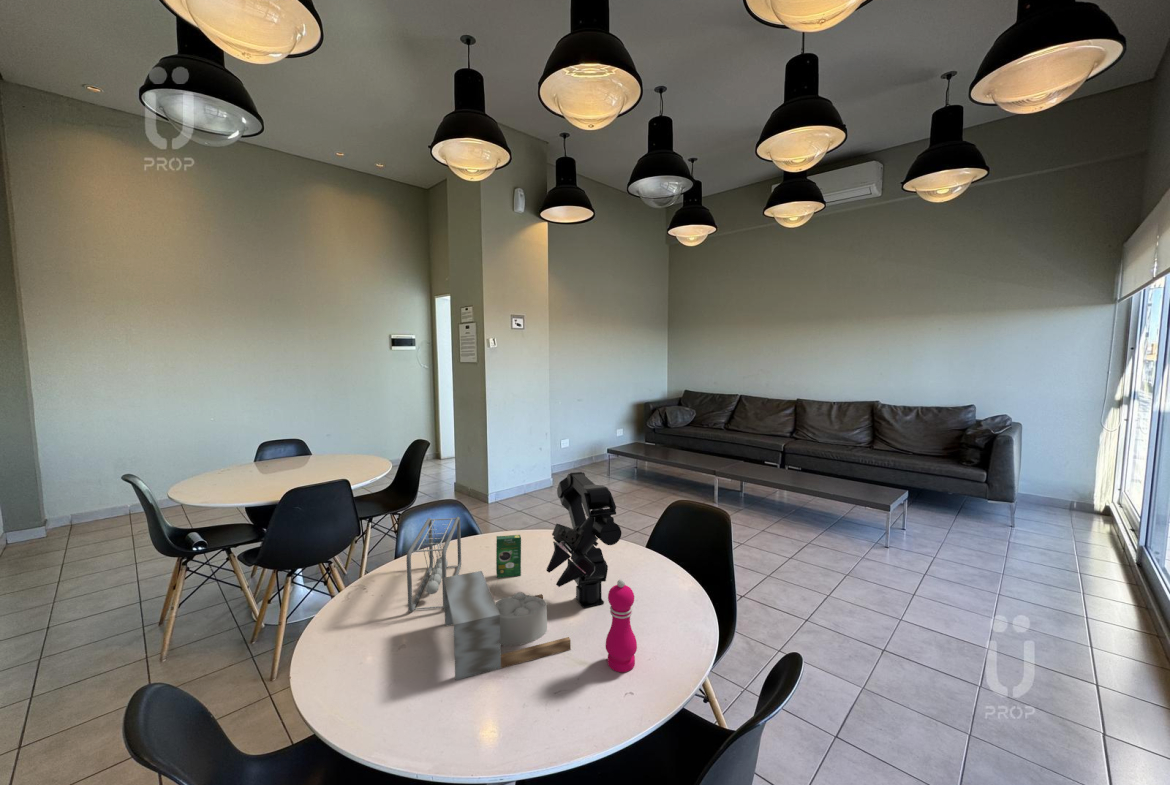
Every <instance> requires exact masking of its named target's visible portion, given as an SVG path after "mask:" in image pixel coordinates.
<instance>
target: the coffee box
mask: <svg viewBox="0 0 1170 785" xmlns="http://www.w3.org/2000/svg"><path fill="white" fill-rule="evenodd" d="M495 546H496V547H495V548H496V549H495V552H496V553H495V554H496V555H495V556H496V559H495V561H496V563H495V564H496V565H495V570H496V572H495V573H496V578H497V579H499V578H510V577H518V576H519V577H521V576H522V566H521V565H522V537H521V534H512V535H496V545H495Z"/></svg>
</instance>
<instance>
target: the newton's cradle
mask: <svg viewBox="0 0 1170 785" xmlns="http://www.w3.org/2000/svg"><path fill="white" fill-rule="evenodd" d="M447 520H449V523H447V524H443V526H444V525H447V527H446V528H445V532H440V533H436V532H435V531H436V528H434V527H435V526H434V523H435V521H447ZM453 520H454V522H453ZM452 522H453V525H452V526H451V529H450V532H449V533H448V530H449V527H450V525H451V523H452ZM427 528H428V530H427V532H425V531H426V529H427ZM455 531H456V536H457V538H456V540H457V541H456V542H457V544H456V545H457V565H454V566H448V563H449V561H448V560H447V552H448V551H447V550H448V547H449V546H450V542H451V540H452V538H453V536H454V533H455ZM424 532H425V534H424ZM438 534H442V535H443V536H442V537H441V540H440V542H439V543H438V540H437V539H438V538H437V536H436V535H438ZM423 535H424V536H423ZM433 535H434V537H435V538H433ZM461 535H462V534H461V518H460V516H456V517H452V518H433V519H432V518H430V517H429V518H427V520H426V521H425V522H424V524H423V526H422V528H421V529H420V530H419V532H418V534H417V535H416V537H415V539H414V540H413V543H412V544H411V546H410V548H408V551H407V553H406V581H407V582H406V584H407V608H408V612H409V613H413V612H414V611H416V610H427V609H429V610H430V609H440V608H441V609H444V610H445V603H444V578H445V577H447V569H450V568H451V569H452V568H456V569H455V572H454V575H453V576H456V575H460V574H459V573H460V570H461V567H462V543H461V542H462V539H461V538H462V537H461ZM422 536H423V539H422V540H421V542H420V544H419V546H418V547H417V549H416V550H415V548H416V546H417V545H418V543H419V541H420V539H421V538H422ZM426 537H428V538H426ZM427 539H428V543H427ZM434 539H435V542H436V543H435V542H434ZM423 542H425V546H426V549H425V548H424V543H423ZM435 544H436V545H437V546H436V547H437V549H436V547H435ZM421 547H422V550H421V549H420V548H421ZM420 552H421V553H423V555H424V558H425V563H426V567H427V571H426V573H425V575H424V578H423V580H422V582H421V585H420V586H419V589H418V591H417V593H416V595H415V598H414V599H413V582H412V580H413V579H412V553H420ZM426 552H427V554H428V558H429V566H428V562H427V557H426ZM434 552H435V555H436V561H435V557H434ZM427 581H428V582H427ZM441 583H442V587H441V588H442V605H441V606H426V607H416V606H417V605H418V601H419V599H420V597H421V595H422V593H423V590H424V588H425V591H426V593H427V594H429V595H435V594H436V593H437V592H438V591H439V588H440V585H441Z"/></svg>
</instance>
